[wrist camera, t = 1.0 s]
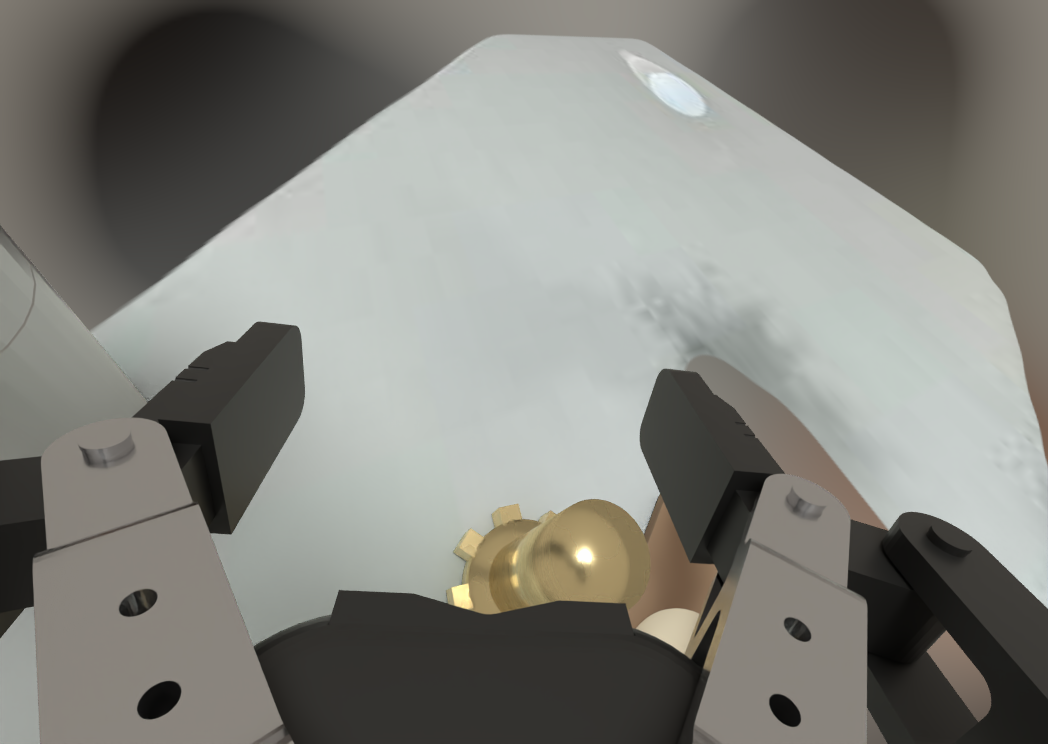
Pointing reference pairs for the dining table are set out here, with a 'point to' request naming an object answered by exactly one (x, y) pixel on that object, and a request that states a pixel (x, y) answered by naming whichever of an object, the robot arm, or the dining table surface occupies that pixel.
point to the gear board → (670, 585)
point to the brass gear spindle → (553, 559)
